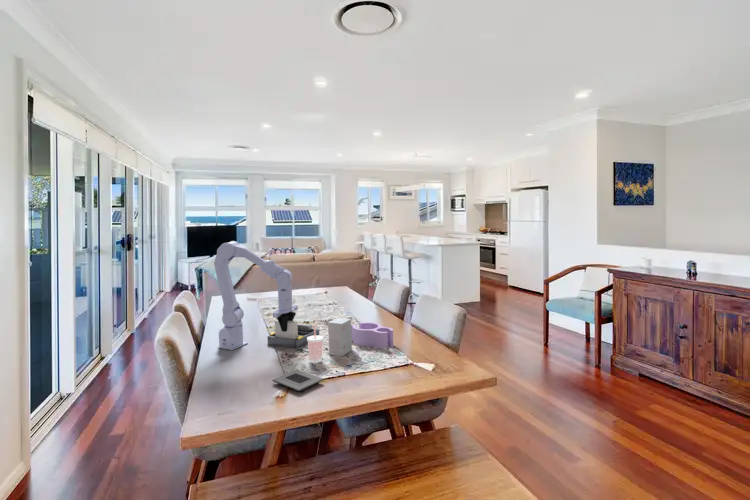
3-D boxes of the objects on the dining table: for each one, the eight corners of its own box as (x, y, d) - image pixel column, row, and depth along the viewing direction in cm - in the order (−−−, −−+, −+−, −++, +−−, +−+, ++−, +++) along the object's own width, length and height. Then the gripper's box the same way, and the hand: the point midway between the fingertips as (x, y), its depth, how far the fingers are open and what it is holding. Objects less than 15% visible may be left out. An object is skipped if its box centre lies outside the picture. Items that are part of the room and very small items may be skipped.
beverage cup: (312, 357, 159) (311, 321, 157) (326, 359, 156) (325, 323, 155) (304, 362, 153) (303, 326, 152) (318, 364, 151) (317, 327, 149)
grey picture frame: (272, 385, 134) (271, 378, 134) (296, 375, 142) (296, 368, 142) (299, 396, 126) (298, 388, 126) (323, 384, 134) (323, 377, 134)
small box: (338, 348, 169) (337, 317, 168) (352, 350, 166) (351, 318, 165) (328, 354, 161) (327, 322, 160) (342, 356, 159) (341, 323, 158)
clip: (399, 343, 174) (399, 328, 173) (380, 351, 164) (380, 335, 164) (364, 335, 187) (363, 320, 186) (344, 342, 177) (344, 326, 176)
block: (294, 339, 171) (293, 322, 170) (275, 336, 175) (274, 320, 174) (298, 337, 173) (297, 321, 172) (278, 335, 177) (278, 319, 176)
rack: (296, 348, 168) (296, 334, 168) (267, 344, 174) (267, 330, 174) (319, 337, 184) (319, 324, 183) (291, 333, 190) (291, 320, 189)
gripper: (282, 303, 164) (283, 336, 165) (303, 296, 177) (304, 326, 179) (268, 301, 167) (269, 334, 168) (289, 295, 180) (290, 325, 181)
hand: (286, 330), depth 174 cm, fingers closed on block, 2 cm apart
